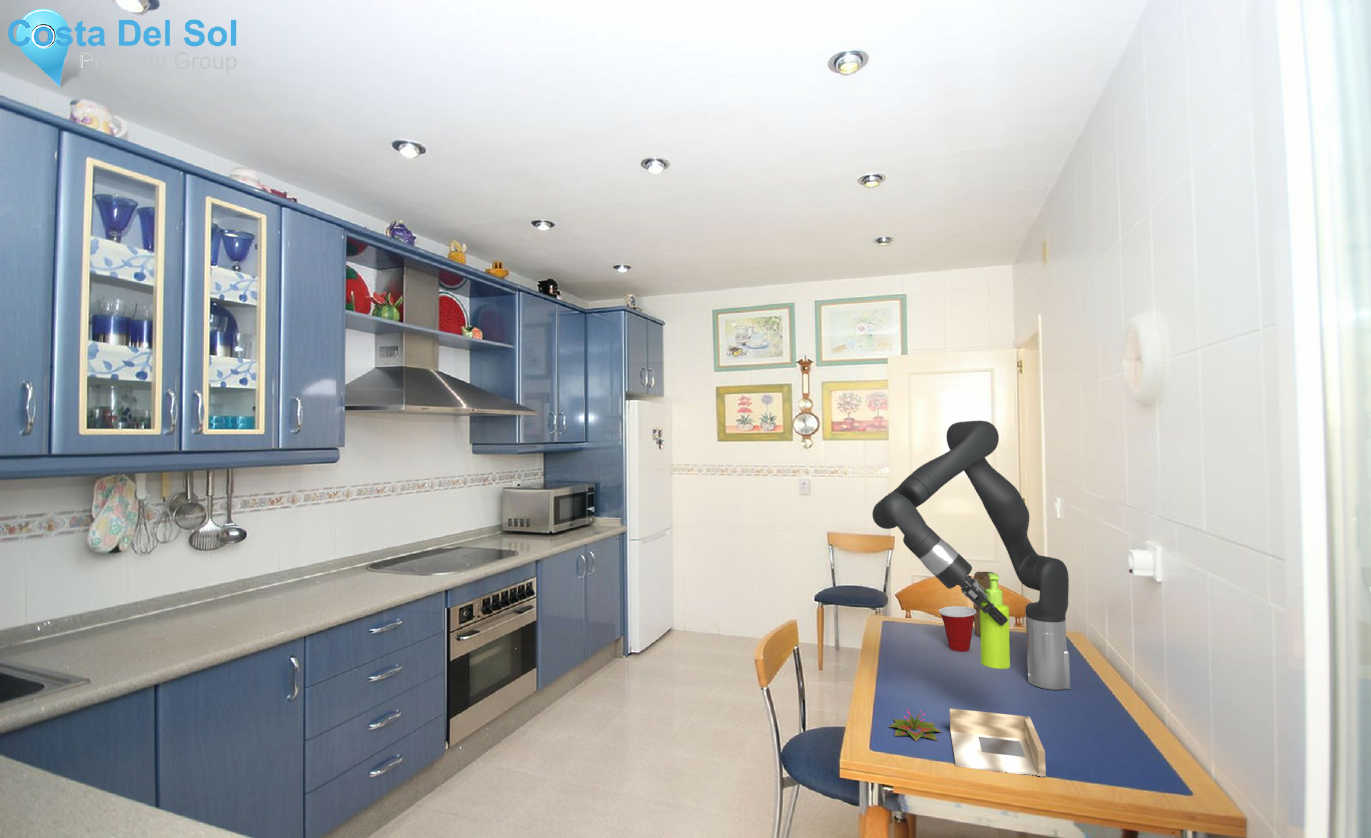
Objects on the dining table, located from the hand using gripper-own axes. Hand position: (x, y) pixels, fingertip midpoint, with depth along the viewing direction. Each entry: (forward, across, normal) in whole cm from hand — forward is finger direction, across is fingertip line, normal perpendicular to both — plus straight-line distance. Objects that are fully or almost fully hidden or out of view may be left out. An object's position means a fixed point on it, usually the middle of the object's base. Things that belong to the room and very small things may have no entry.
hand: (1002, 618), depth 146 cm
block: (+20, +73, +15) cm, 77 cm away
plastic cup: (+13, +55, +22) cm, 61 cm away
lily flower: (+4, -7, +31) cm, 32 cm away
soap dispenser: (+6, 0, +9) cm, 11 cm away
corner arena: (+15, -13, +20) cm, 28 cm away
